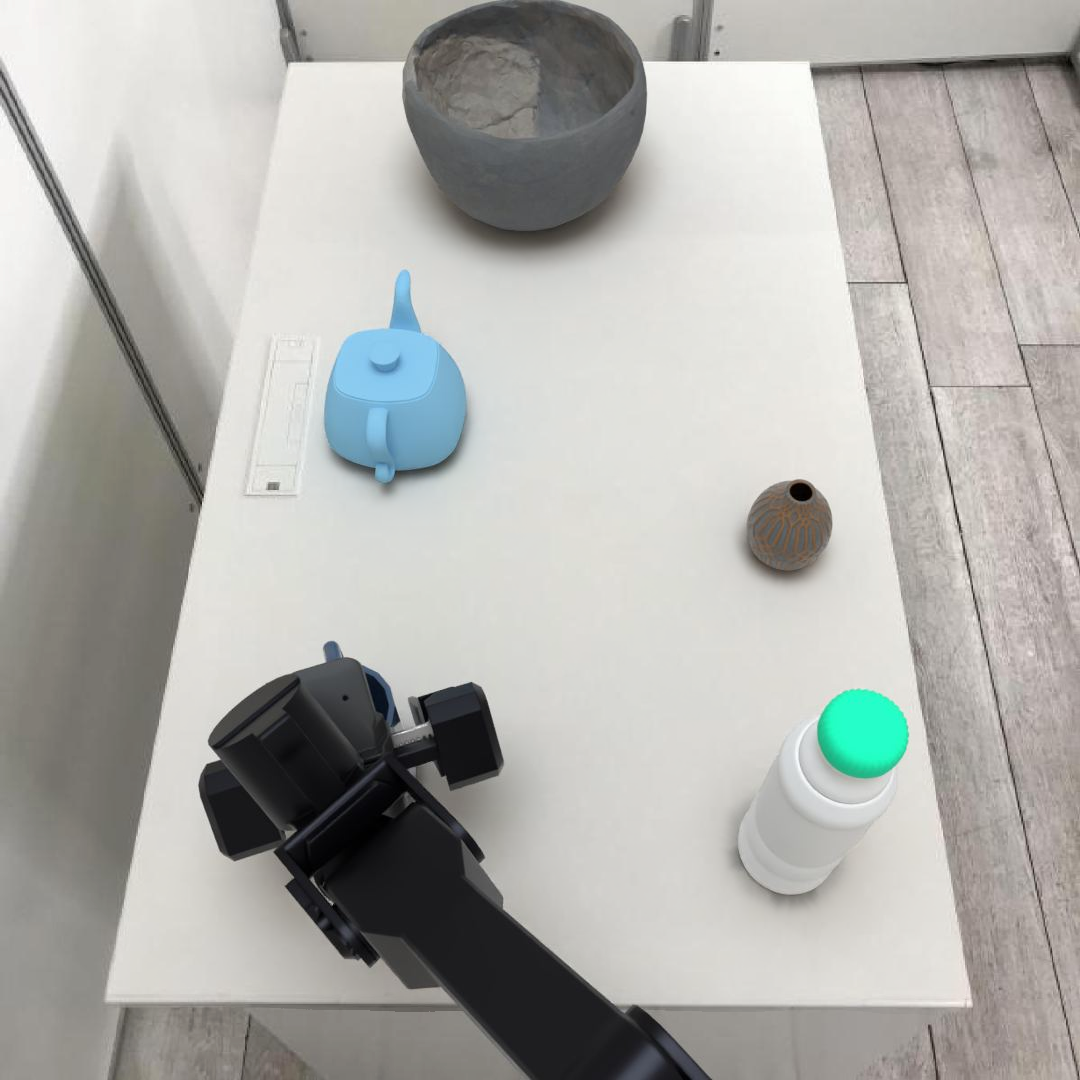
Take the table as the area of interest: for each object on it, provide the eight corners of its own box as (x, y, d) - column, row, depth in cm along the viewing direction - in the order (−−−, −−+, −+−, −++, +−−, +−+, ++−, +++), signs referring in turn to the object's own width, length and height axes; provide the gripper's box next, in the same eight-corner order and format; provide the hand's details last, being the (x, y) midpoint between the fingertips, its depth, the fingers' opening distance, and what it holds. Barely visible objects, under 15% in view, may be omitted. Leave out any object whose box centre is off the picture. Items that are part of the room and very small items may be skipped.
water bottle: (822, 910, 76) (924, 806, 55) (726, 878, 78) (789, 764, 56) (840, 818, 80) (944, 685, 58) (748, 788, 81) (816, 648, 60)
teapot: (472, 268, 95) (445, 430, 86) (479, 348, 104) (456, 502, 95) (332, 261, 96) (291, 420, 86) (352, 341, 105) (316, 493, 96)
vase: (733, 570, 91) (749, 516, 83) (749, 505, 94) (766, 447, 87) (814, 591, 90) (838, 537, 82) (827, 524, 93) (851, 466, 86)
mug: (426, 801, 81) (404, 741, 70) (338, 829, 80) (302, 772, 69) (394, 685, 86) (370, 612, 75) (311, 710, 85) (274, 639, 74)
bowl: (426, 111, 123) (411, -15, 110) (639, 114, 122) (648, -12, 109) (403, 265, 110) (383, 144, 97) (640, 270, 109) (651, 148, 96)
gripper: (480, 648, 61) (445, 581, 76) (154, 748, 58) (184, 658, 73) (526, 817, 64) (484, 721, 79) (218, 920, 61) (234, 800, 76)
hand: (349, 722), depth 77 cm, fingers open, 9 cm apart
